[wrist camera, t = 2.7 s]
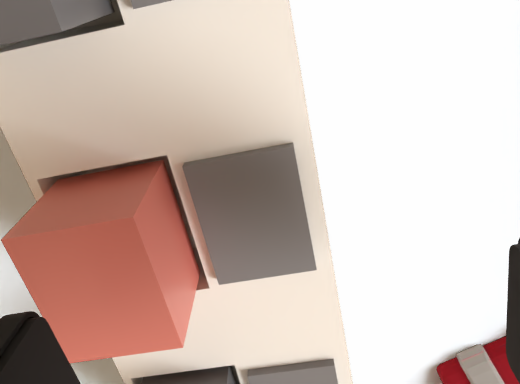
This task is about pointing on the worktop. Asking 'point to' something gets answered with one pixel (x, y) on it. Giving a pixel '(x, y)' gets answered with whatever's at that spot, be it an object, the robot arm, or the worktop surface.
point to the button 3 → (195, 377)
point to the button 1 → (46, 17)
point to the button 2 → (109, 262)
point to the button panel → (198, 168)
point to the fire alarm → (479, 366)
